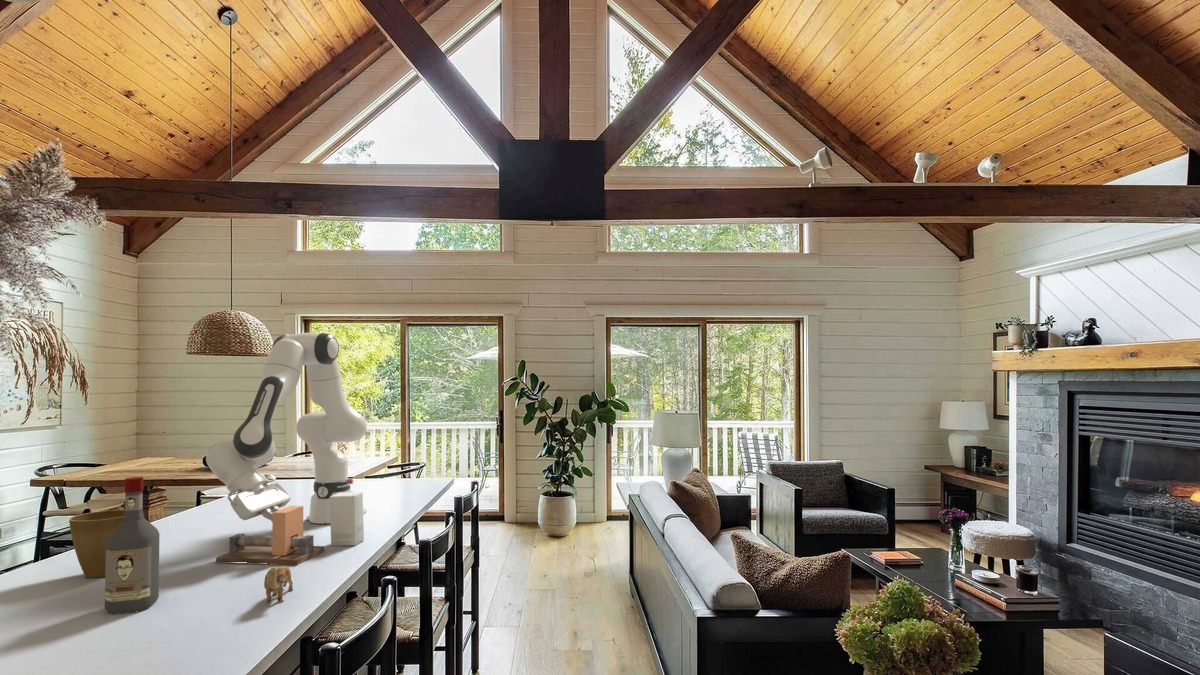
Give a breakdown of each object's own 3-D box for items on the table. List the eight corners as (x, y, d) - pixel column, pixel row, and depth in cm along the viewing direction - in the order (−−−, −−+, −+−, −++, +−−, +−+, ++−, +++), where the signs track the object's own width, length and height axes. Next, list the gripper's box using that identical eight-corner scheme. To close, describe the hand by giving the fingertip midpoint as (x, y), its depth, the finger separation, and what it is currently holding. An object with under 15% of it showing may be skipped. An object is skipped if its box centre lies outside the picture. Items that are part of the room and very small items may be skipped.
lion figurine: (286, 607, 155) (287, 568, 156) (261, 610, 154) (261, 570, 154) (294, 587, 169) (294, 551, 170) (271, 589, 168) (271, 553, 168)
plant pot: (142, 572, 182) (143, 513, 183) (73, 586, 171) (74, 523, 172) (128, 562, 192) (129, 506, 193) (63, 574, 182) (64, 515, 182)
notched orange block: (290, 546, 200) (290, 505, 201) (303, 546, 200) (303, 506, 200) (272, 555, 191) (272, 512, 192) (285, 555, 191) (285, 512, 191)
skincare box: (364, 540, 213) (364, 491, 214) (354, 546, 206) (354, 495, 207) (339, 540, 214) (339, 491, 214) (328, 546, 207) (329, 495, 208)
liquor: (117, 602, 160) (119, 476, 161) (161, 598, 162) (163, 473, 163) (100, 616, 151) (103, 482, 152) (147, 611, 153) (149, 480, 155)
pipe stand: (247, 549, 205) (247, 529, 205) (324, 551, 201) (324, 531, 202) (215, 562, 191) (216, 541, 191) (297, 565, 188) (297, 543, 188)
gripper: (232, 486, 187) (264, 522, 186) (276, 474, 208) (305, 506, 206) (217, 502, 188) (249, 537, 186) (262, 488, 208) (292, 520, 206)
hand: (279, 521), depth 196 cm, fingers closed
